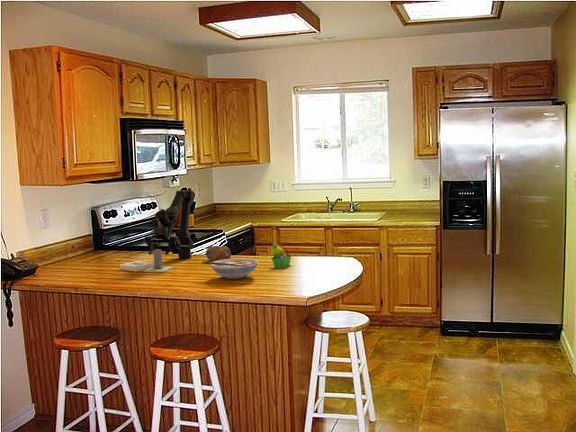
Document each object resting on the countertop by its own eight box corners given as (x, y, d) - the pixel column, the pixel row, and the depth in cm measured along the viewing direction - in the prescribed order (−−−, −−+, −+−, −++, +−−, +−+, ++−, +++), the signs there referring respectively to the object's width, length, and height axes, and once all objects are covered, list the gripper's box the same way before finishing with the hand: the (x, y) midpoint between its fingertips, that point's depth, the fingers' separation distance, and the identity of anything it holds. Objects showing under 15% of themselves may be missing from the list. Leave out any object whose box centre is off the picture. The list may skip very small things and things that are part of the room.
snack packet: (206, 260, 346) (205, 245, 345) (209, 259, 349) (208, 244, 348) (229, 262, 339) (228, 247, 338) (232, 261, 342) (231, 246, 341)
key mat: (153, 267, 332) (153, 266, 332) (172, 267, 329) (172, 266, 329) (144, 271, 322) (143, 270, 321) (163, 272, 319) (163, 270, 319)
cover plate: (138, 265, 340) (138, 260, 340) (154, 267, 332) (153, 262, 332) (120, 269, 331) (120, 264, 331) (135, 271, 323) (135, 266, 323)
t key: (154, 268, 328) (153, 249, 326) (165, 268, 326) (163, 249, 325) (151, 269, 325) (150, 250, 324) (162, 269, 323) (161, 250, 322)
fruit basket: (285, 268, 316) (284, 246, 315) (269, 267, 319) (268, 246, 318) (292, 264, 327) (291, 242, 326) (276, 263, 330) (275, 242, 329)
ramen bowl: (270, 275, 301) (269, 258, 301) (243, 285, 282) (242, 267, 281) (228, 271, 314) (227, 255, 313) (199, 280, 295) (198, 263, 294)
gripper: (144, 221, 330) (135, 245, 321) (176, 221, 325) (168, 245, 316) (152, 233, 339) (143, 257, 329) (183, 233, 334) (176, 258, 325)
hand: (157, 254), depth 325 cm, fingers open, 9 cm apart
